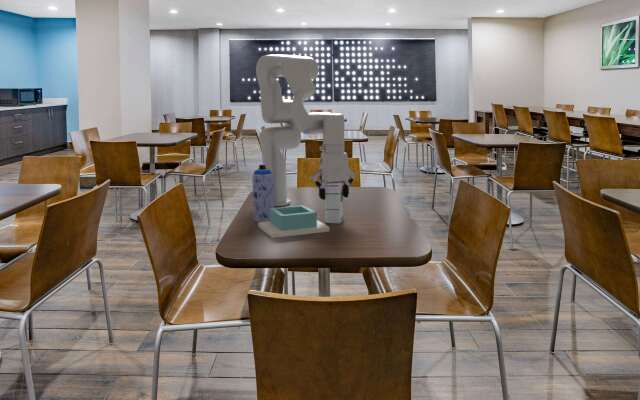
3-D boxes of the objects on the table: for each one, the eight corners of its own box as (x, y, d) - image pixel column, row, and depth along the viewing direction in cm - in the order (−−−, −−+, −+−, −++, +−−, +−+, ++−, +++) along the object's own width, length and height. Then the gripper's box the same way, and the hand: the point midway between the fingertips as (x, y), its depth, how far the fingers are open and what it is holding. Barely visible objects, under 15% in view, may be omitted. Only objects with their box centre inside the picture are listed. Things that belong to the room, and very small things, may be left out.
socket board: (258, 226, 187) (257, 208, 186) (311, 220, 194) (311, 203, 193) (272, 238, 173) (271, 218, 171) (329, 231, 180) (329, 212, 179)
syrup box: (340, 223, 190) (340, 183, 187) (324, 223, 191) (324, 182, 188) (343, 219, 196) (343, 180, 193) (327, 219, 197) (327, 180, 194)
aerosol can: (250, 217, 200) (248, 164, 196) (270, 215, 203) (269, 163, 199) (256, 222, 193) (254, 167, 189) (277, 220, 196) (276, 165, 192)
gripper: (314, 151, 182) (315, 202, 185) (360, 148, 188) (360, 197, 191) (306, 149, 188) (307, 198, 192) (351, 146, 195) (351, 194, 198)
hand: (334, 197), depth 192 cm, fingers open, 8 cm apart
